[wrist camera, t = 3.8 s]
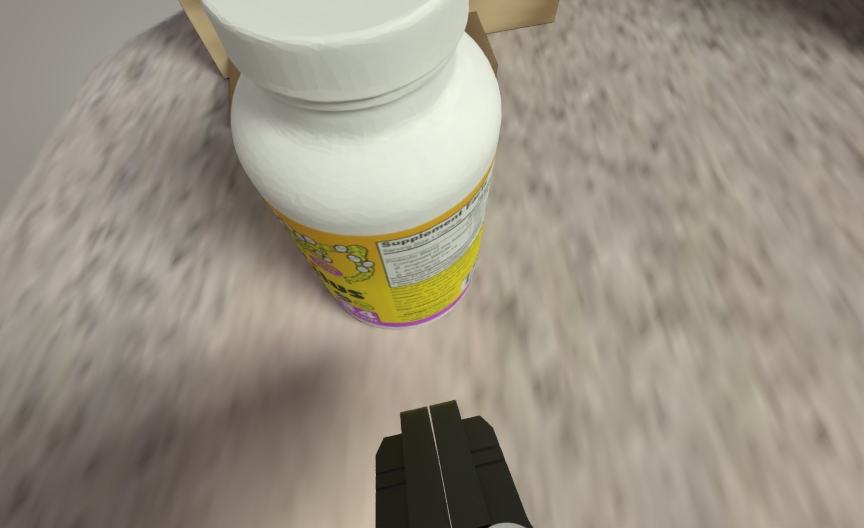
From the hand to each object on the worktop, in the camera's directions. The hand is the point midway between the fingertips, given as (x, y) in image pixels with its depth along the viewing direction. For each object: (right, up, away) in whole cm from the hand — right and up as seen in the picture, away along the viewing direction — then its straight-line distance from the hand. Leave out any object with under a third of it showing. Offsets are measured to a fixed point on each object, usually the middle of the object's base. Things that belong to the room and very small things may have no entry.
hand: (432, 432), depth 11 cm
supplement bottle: (-1, +4, +8) cm, 9 cm away
